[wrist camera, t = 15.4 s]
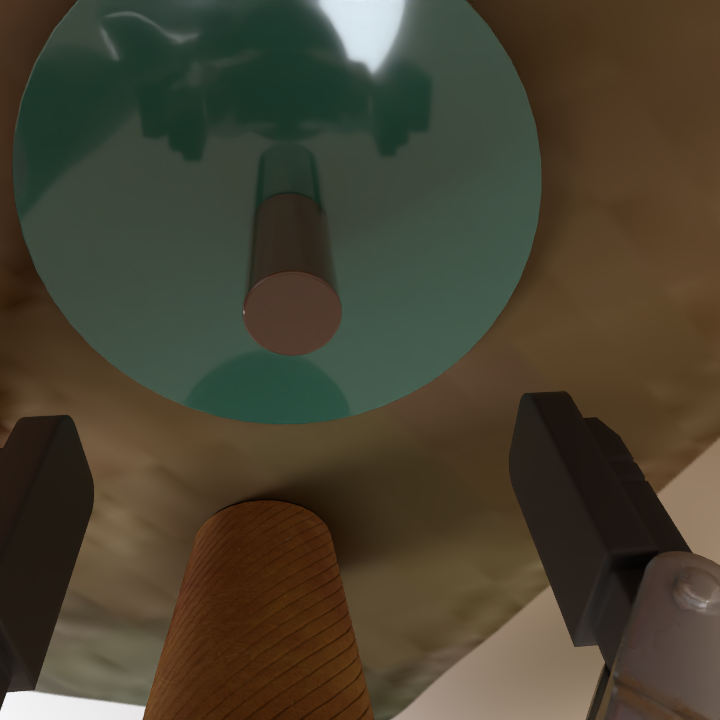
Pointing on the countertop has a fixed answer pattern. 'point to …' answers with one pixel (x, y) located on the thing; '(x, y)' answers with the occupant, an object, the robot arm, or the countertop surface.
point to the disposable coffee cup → (261, 625)
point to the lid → (277, 195)
